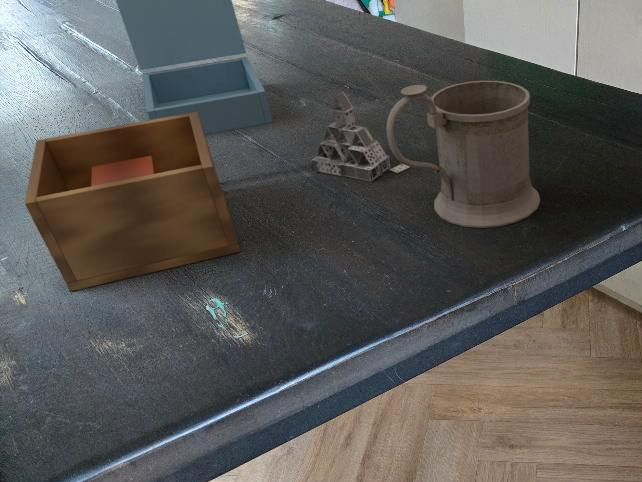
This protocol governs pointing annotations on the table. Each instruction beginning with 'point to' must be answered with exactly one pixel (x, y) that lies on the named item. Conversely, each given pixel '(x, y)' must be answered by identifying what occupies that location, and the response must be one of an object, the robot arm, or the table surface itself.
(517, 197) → the mug
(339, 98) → the house of cards
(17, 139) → the table surface
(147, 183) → the open wooden crate
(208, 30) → the lid
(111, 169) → the block
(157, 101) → the box
